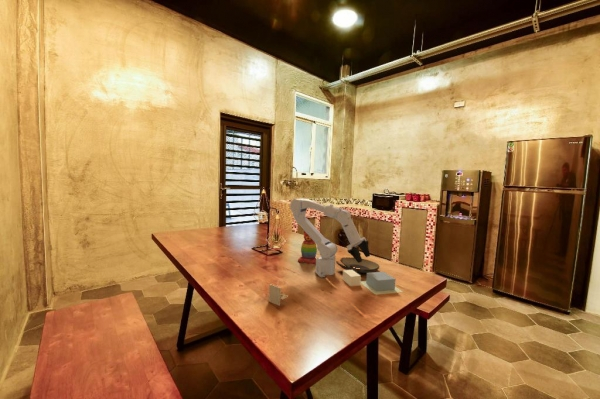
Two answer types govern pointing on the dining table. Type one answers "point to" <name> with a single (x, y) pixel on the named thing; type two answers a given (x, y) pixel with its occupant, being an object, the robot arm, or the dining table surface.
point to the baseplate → (380, 291)
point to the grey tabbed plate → (275, 294)
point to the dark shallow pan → (358, 265)
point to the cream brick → (351, 277)
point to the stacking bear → (308, 250)
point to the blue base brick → (380, 281)
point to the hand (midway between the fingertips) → (364, 259)
